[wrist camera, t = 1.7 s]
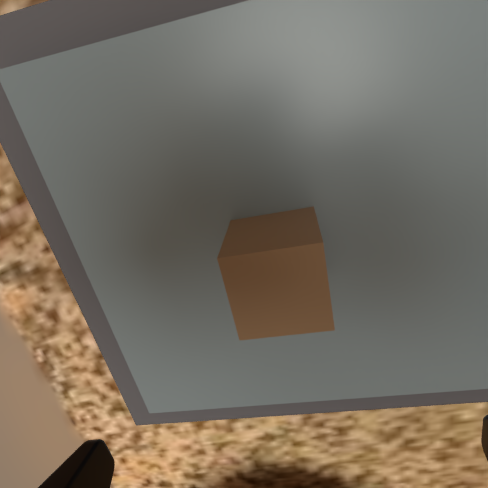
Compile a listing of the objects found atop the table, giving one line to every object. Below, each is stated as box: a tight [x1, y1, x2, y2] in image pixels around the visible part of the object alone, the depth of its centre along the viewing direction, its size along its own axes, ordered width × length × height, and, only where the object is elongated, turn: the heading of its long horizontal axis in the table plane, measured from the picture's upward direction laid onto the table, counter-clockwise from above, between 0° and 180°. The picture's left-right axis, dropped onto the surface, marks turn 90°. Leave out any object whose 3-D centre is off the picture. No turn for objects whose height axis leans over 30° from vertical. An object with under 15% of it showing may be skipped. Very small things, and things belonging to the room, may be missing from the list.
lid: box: [0, 0, 488, 413], centre depth 16 cm, size 21×21×5 cm
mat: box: [0, 0, 488, 425], centre depth 18 cm, size 25×25×1 cm
